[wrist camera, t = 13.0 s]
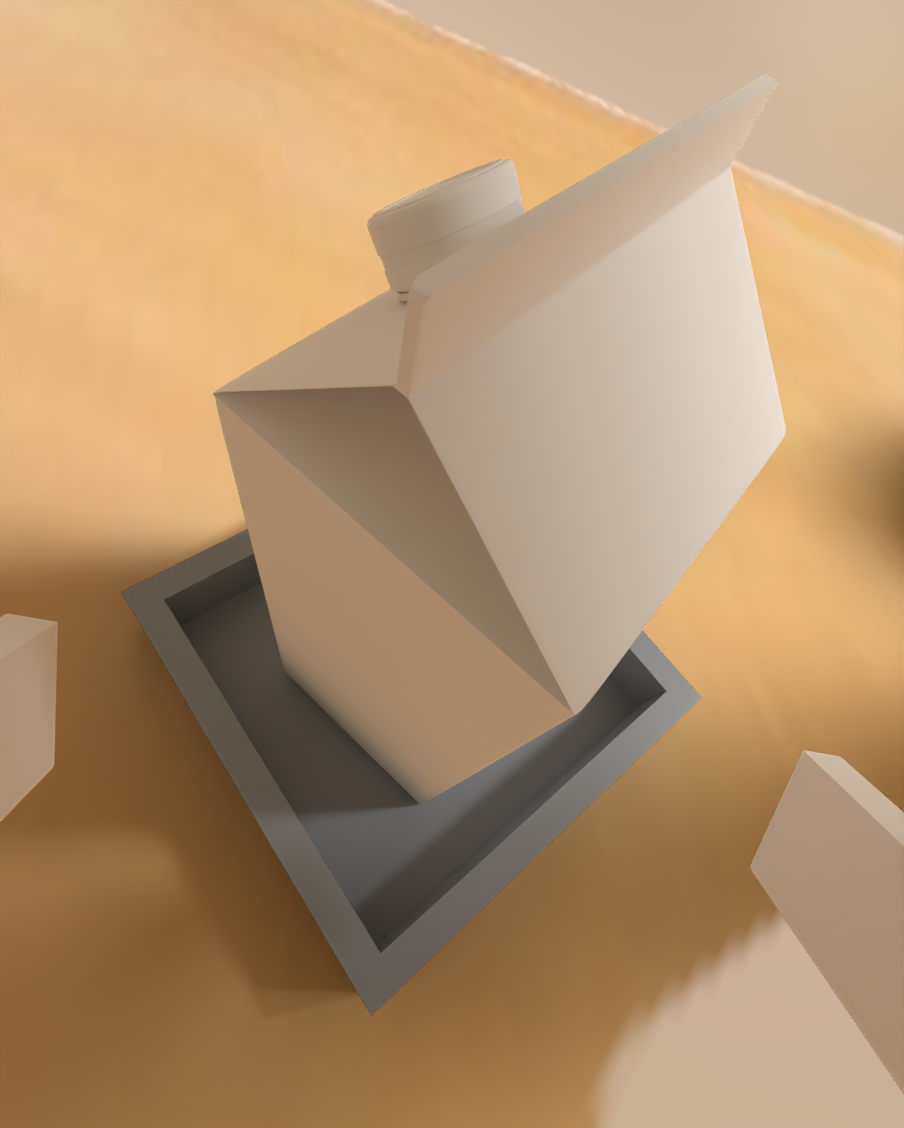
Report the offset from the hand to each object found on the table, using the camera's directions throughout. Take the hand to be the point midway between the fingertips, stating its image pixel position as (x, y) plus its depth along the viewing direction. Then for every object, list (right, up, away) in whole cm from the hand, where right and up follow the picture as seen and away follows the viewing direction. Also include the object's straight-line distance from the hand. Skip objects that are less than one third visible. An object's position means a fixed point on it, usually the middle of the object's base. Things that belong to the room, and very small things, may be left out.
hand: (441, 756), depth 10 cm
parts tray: (-1, -1, +13) cm, 13 cm away
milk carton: (-1, -1, +13) cm, 13 cm away
